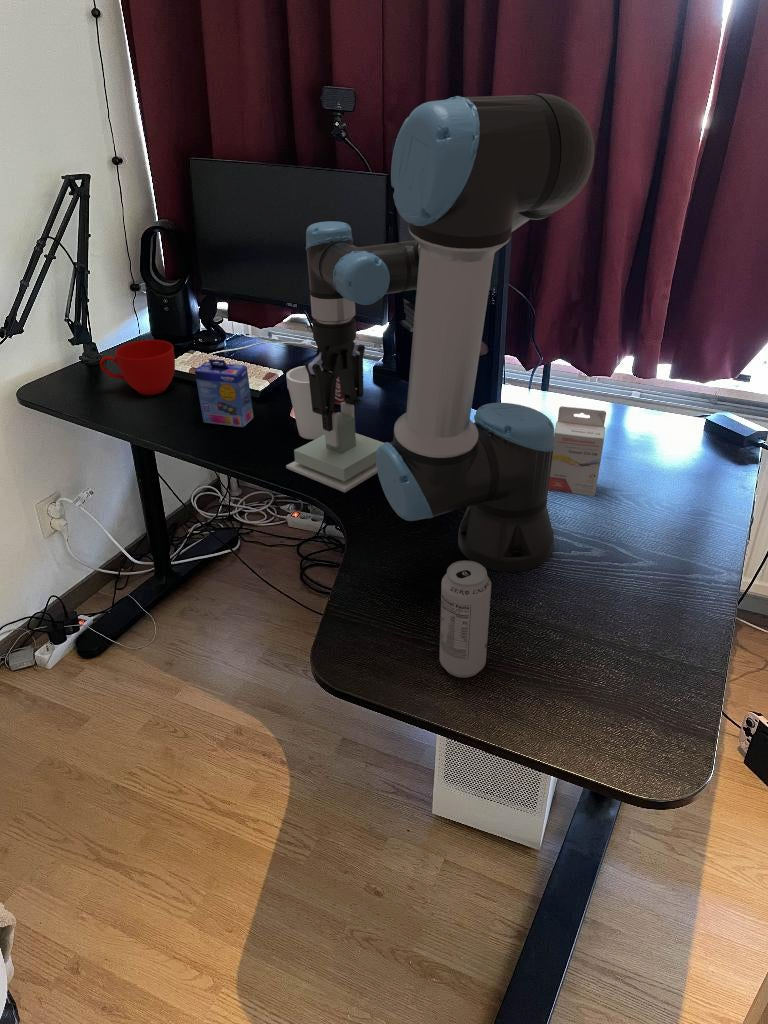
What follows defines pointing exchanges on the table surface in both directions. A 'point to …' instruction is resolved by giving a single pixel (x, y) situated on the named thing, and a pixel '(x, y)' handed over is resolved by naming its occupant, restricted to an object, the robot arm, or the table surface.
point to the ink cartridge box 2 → (577, 451)
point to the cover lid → (340, 452)
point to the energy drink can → (464, 618)
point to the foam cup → (303, 404)
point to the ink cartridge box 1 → (224, 393)
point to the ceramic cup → (144, 365)
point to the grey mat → (332, 481)
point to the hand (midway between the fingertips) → (340, 439)
